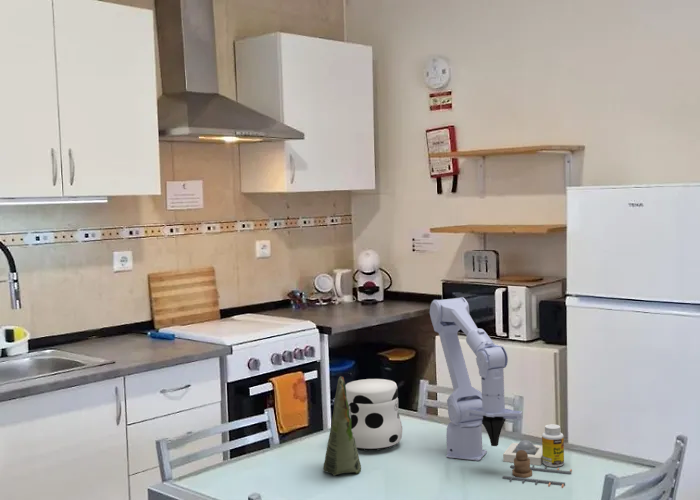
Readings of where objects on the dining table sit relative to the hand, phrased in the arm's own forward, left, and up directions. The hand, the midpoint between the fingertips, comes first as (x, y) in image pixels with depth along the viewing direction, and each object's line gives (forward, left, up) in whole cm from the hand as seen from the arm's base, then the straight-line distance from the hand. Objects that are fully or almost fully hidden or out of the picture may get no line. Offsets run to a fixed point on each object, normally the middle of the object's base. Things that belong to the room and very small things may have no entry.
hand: (494, 445), depth 210 cm
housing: (+5, +13, -7) cm, 16 cm away
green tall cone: (-38, -12, -7) cm, 41 cm away
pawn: (+7, 0, -7) cm, 10 cm away
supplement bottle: (+13, +10, -7) cm, 18 cm away
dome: (+5, +13, -7) cm, 16 cm away
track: (+11, 0, -7) cm, 13 cm away
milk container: (-39, +10, -7) cm, 41 cm away
